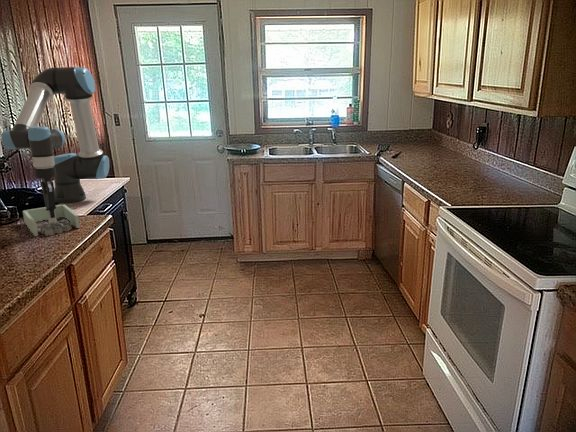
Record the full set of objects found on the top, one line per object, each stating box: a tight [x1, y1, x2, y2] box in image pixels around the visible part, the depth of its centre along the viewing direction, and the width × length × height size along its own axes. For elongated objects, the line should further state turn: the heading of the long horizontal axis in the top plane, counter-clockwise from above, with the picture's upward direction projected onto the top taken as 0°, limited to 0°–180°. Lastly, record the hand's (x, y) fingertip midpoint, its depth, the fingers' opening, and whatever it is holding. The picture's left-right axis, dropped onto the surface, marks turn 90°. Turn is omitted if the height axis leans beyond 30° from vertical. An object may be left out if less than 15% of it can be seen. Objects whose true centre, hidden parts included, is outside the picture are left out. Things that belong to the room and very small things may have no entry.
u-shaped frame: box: [22, 203, 81, 237], centre depth 185 cm, size 23×16×6 cm
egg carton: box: [38, 218, 73, 237], centre depth 177 cm, size 11×8×4 cm
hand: (53, 224), depth 181 cm, fingers closed
